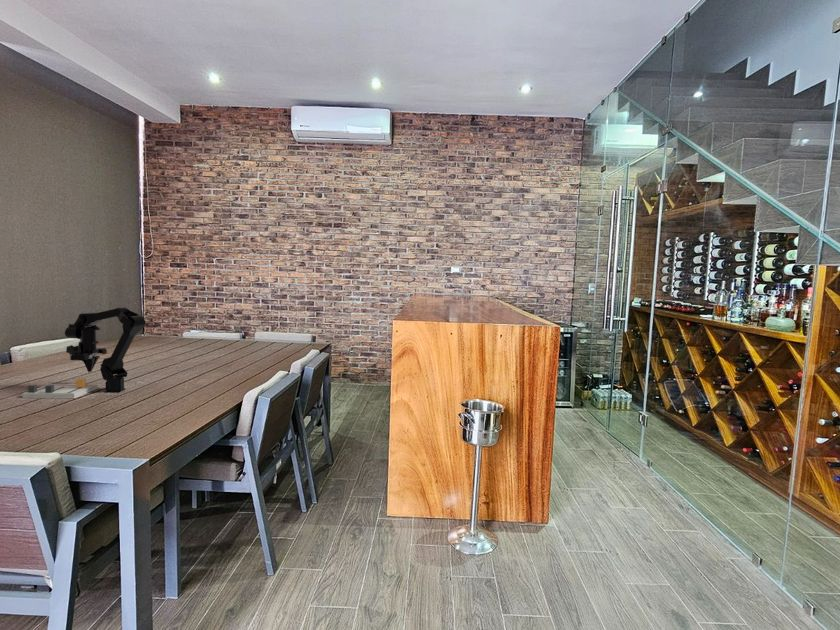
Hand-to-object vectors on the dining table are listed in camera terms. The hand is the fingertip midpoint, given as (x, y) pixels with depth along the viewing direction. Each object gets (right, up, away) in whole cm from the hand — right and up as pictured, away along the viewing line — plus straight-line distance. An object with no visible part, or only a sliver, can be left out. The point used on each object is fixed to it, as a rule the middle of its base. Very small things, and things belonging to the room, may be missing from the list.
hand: (89, 371), depth 218 cm
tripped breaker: (0, -6, -6) cm, 9 cm away
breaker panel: (-6, -9, -9) cm, 14 cm away
